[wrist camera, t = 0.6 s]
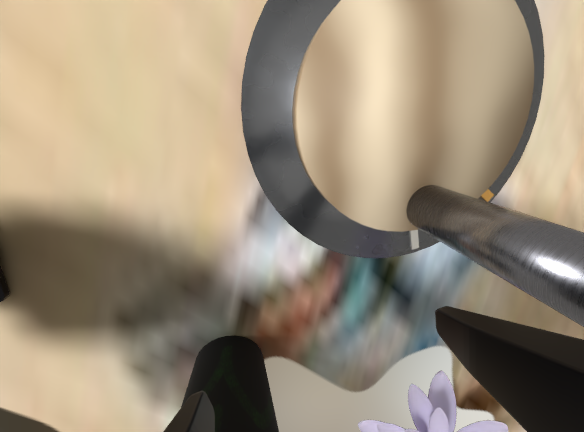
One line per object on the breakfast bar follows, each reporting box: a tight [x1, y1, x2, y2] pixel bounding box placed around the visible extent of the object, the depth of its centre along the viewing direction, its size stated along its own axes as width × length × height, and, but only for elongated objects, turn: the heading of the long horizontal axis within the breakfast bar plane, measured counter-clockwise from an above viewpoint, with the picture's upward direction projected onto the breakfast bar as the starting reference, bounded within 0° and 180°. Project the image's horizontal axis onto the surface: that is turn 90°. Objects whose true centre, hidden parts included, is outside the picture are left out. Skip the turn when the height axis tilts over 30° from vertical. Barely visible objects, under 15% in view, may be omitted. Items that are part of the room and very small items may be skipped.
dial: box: [292, 0, 584, 327], centre depth 12 cm, size 15×15×12 cm
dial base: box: [241, 0, 544, 258], centre depth 18 cm, size 21×21×1 cm
